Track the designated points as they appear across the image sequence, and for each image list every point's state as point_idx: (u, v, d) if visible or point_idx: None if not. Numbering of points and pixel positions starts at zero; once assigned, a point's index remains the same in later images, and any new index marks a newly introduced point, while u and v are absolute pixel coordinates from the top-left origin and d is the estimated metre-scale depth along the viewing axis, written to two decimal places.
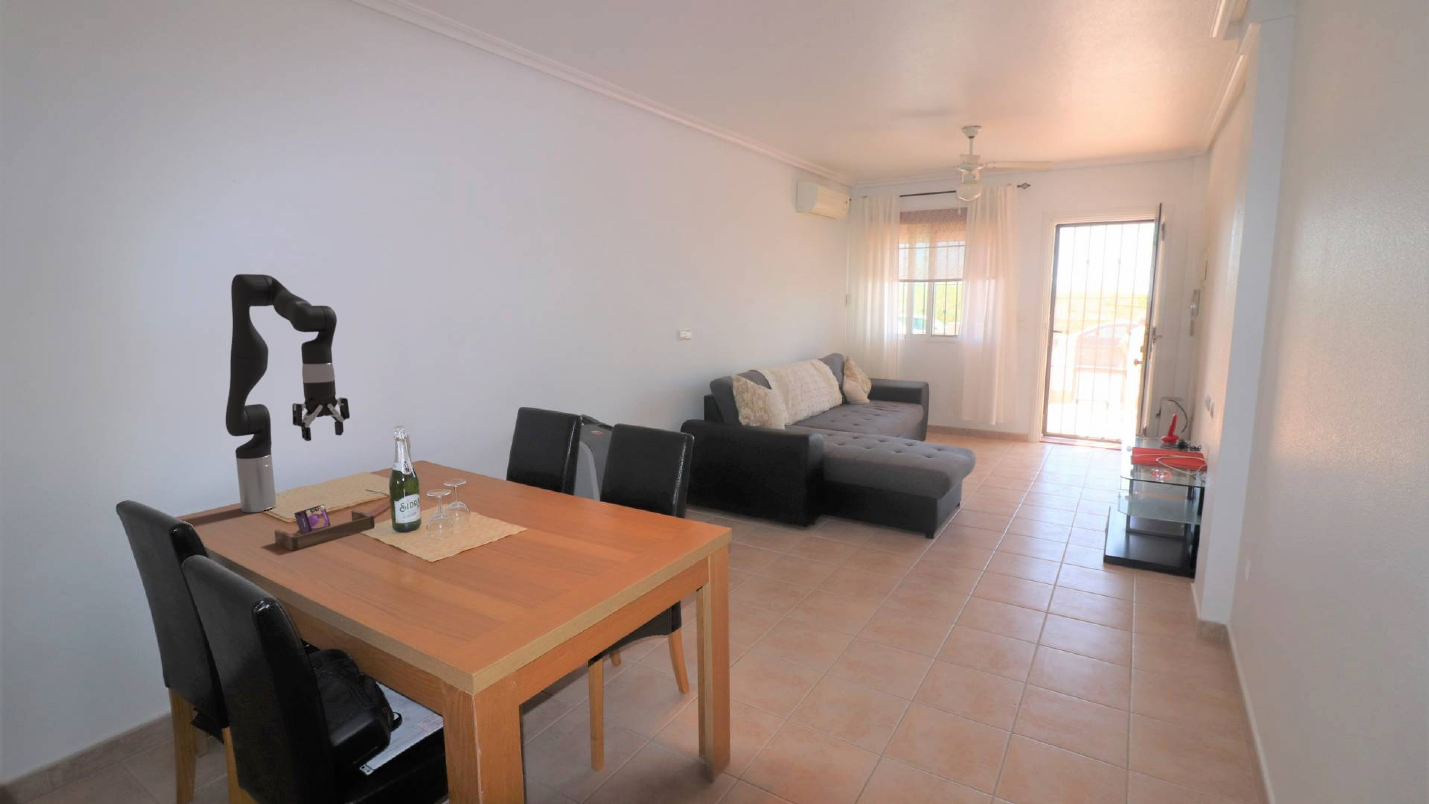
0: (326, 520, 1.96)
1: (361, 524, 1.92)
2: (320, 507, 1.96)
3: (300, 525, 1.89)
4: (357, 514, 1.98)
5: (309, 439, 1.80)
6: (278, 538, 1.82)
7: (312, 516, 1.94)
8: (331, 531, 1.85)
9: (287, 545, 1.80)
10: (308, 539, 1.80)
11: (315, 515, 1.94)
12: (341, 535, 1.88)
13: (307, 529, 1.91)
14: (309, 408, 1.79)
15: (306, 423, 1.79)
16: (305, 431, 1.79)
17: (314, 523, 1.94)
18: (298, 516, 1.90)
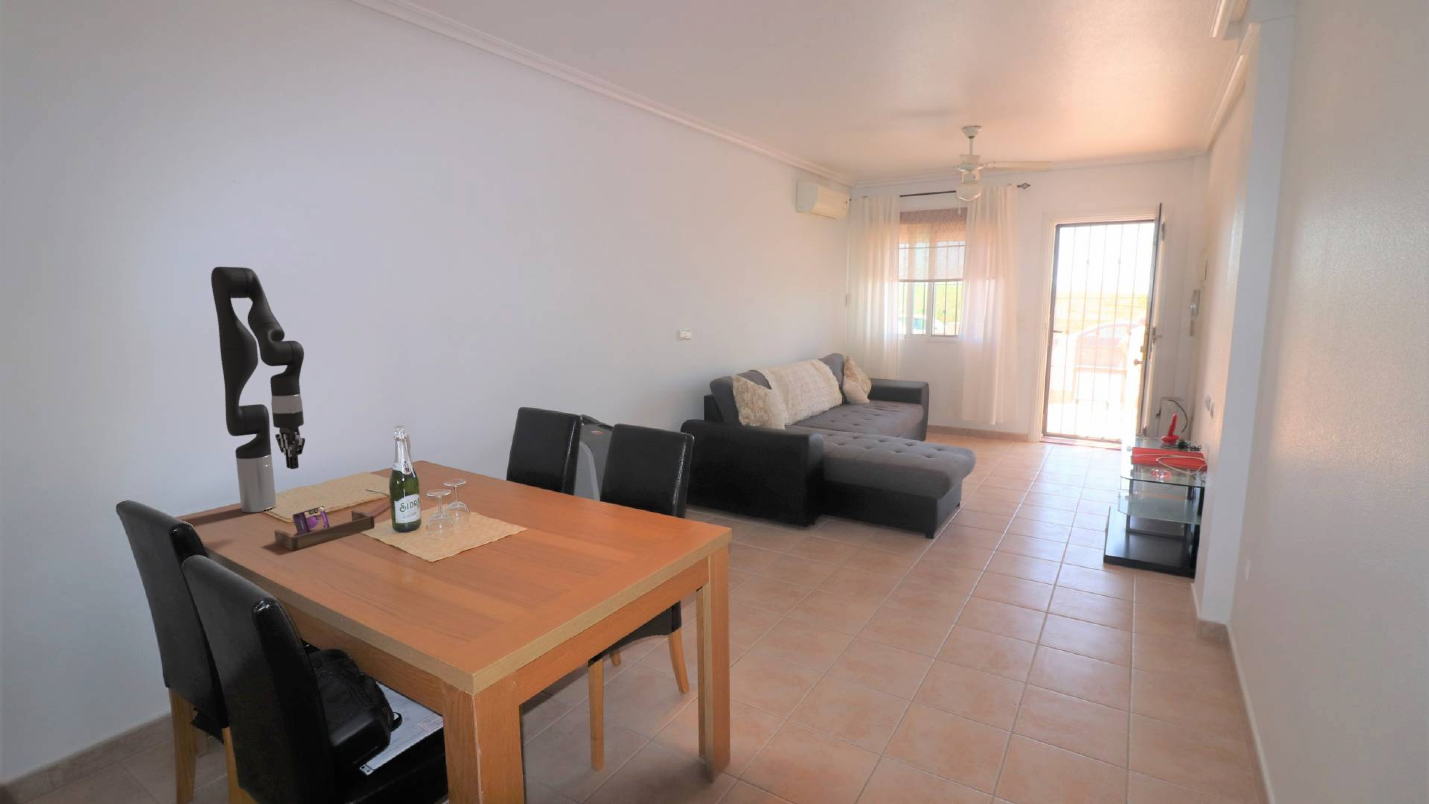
0: (325, 522, 1.94)
1: (361, 524, 1.92)
2: (319, 509, 1.94)
3: (298, 527, 1.88)
4: (357, 514, 1.98)
5: None
6: (278, 538, 1.82)
7: (311, 518, 1.92)
8: (331, 531, 1.85)
9: (287, 545, 1.80)
10: (308, 539, 1.80)
11: (314, 517, 1.93)
12: (341, 535, 1.88)
13: (306, 531, 1.90)
14: None
15: None
16: None
17: (313, 525, 1.92)
18: (296, 518, 1.88)
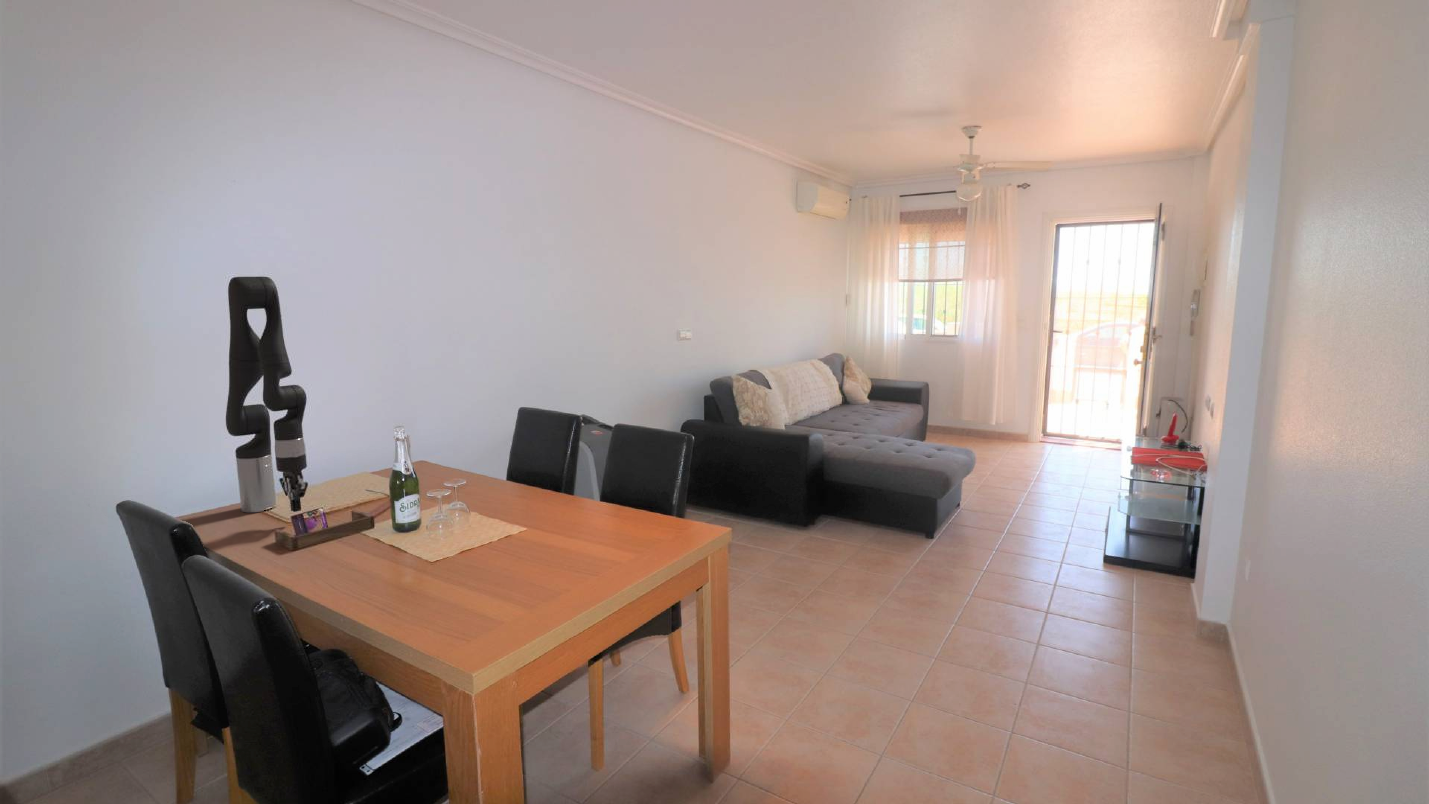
0: (324, 524, 1.93)
1: (361, 524, 1.92)
2: (318, 510, 1.93)
3: (296, 528, 1.87)
4: (357, 514, 1.98)
5: None
6: (278, 538, 1.82)
7: (310, 519, 1.91)
8: (331, 531, 1.85)
9: (287, 545, 1.80)
10: (308, 539, 1.80)
11: (313, 518, 1.91)
12: (341, 535, 1.88)
13: (304, 533, 1.88)
14: None
15: None
16: None
17: (311, 526, 1.91)
18: (294, 519, 1.87)
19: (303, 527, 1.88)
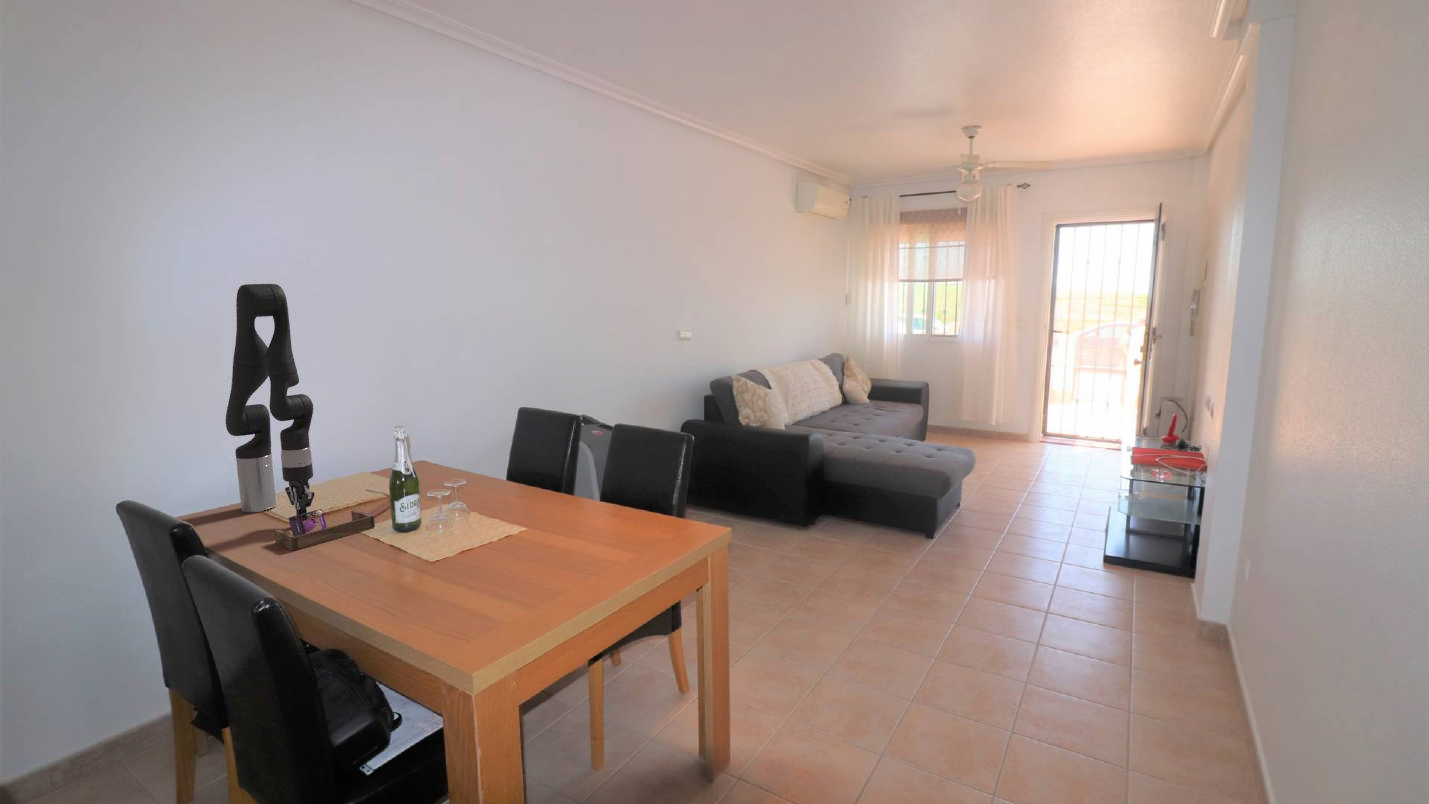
0: (323, 525, 1.92)
1: (361, 524, 1.92)
2: (317, 512, 1.91)
3: (294, 530, 1.85)
4: (357, 514, 1.98)
5: None
6: (278, 538, 1.82)
7: (308, 521, 1.89)
8: (331, 531, 1.85)
9: (287, 545, 1.80)
10: (308, 539, 1.80)
11: (311, 520, 1.90)
12: (341, 535, 1.88)
13: None
14: None
15: None
16: None
17: (310, 528, 1.89)
18: (292, 521, 1.86)
19: (301, 529, 1.87)
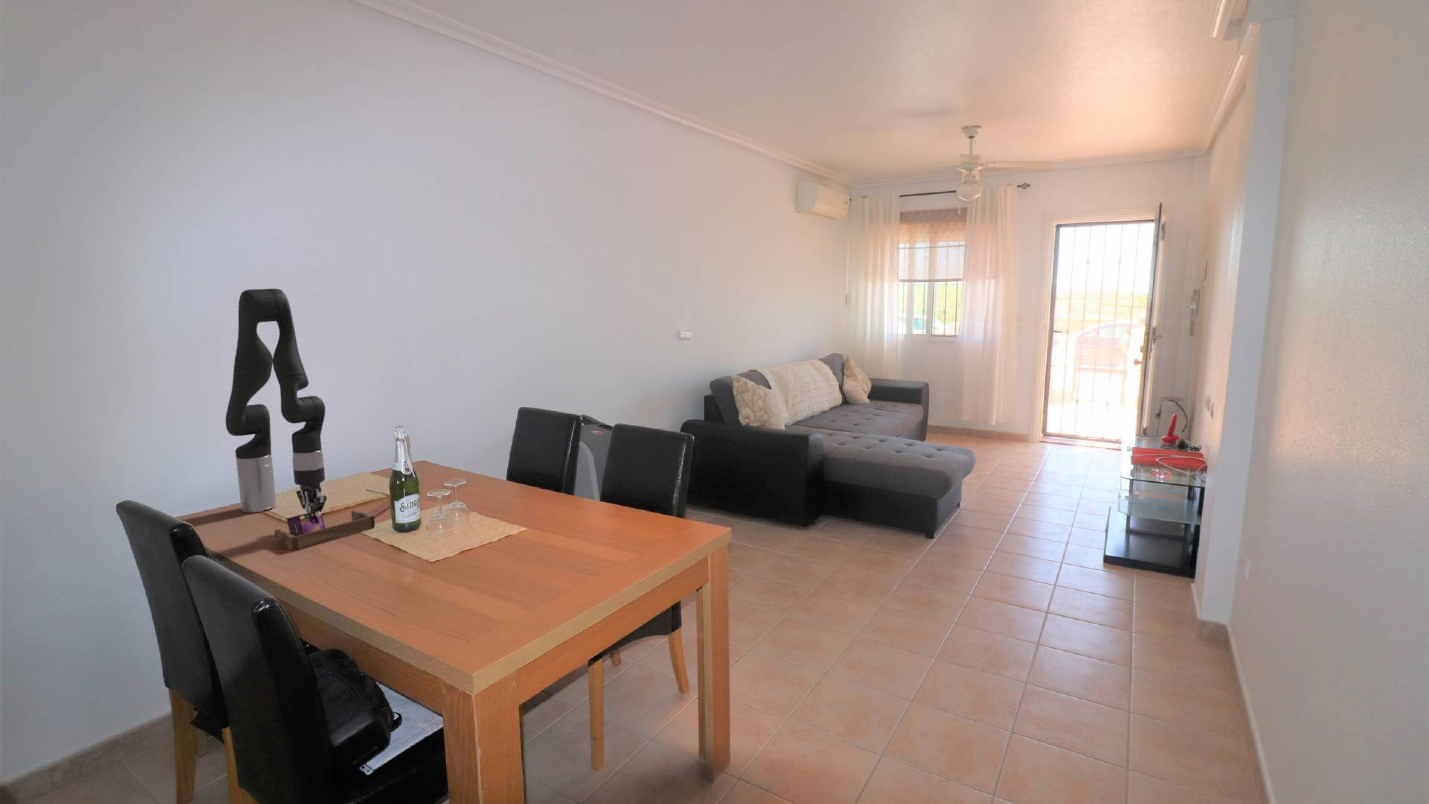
0: (321, 527, 1.90)
1: (361, 524, 1.92)
2: (316, 513, 1.90)
3: (292, 531, 1.84)
4: (357, 514, 1.98)
5: None
6: (278, 538, 1.82)
7: (307, 522, 1.88)
8: (331, 531, 1.85)
9: (287, 545, 1.80)
10: (308, 539, 1.80)
11: (310, 521, 1.89)
12: (341, 535, 1.88)
13: None
14: None
15: None
16: None
17: (308, 529, 1.88)
18: (290, 521, 1.85)
19: (299, 530, 1.86)
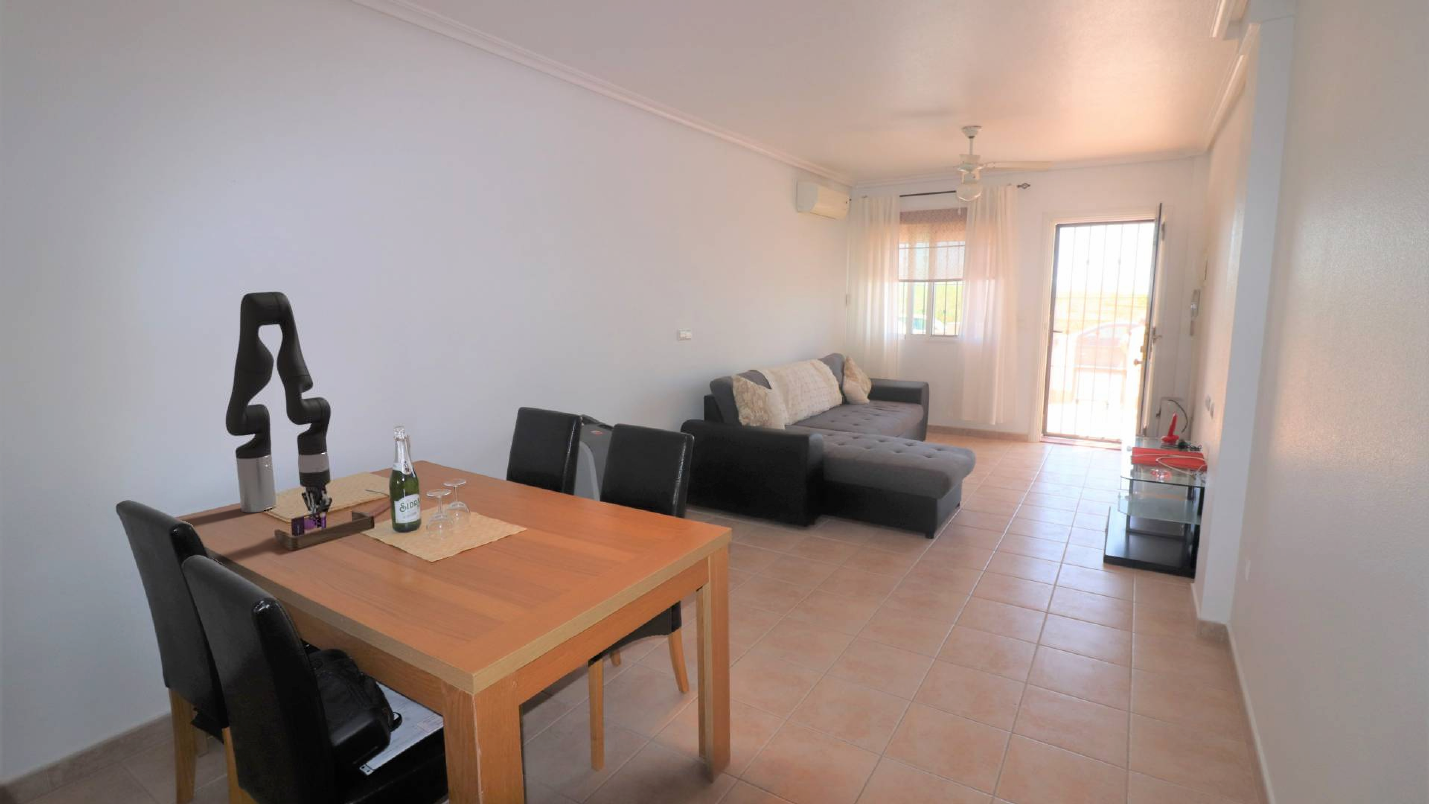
0: (323, 527, 1.90)
1: (361, 524, 1.92)
2: (321, 514, 1.88)
3: (293, 531, 1.83)
4: (357, 514, 1.98)
5: None
6: (278, 538, 1.82)
7: (310, 522, 1.87)
8: (331, 531, 1.85)
9: (287, 545, 1.80)
10: (308, 539, 1.80)
11: (313, 521, 1.87)
12: (341, 535, 1.88)
13: None
14: None
15: None
16: None
17: (310, 528, 1.88)
18: (294, 522, 1.83)
19: (301, 530, 1.85)
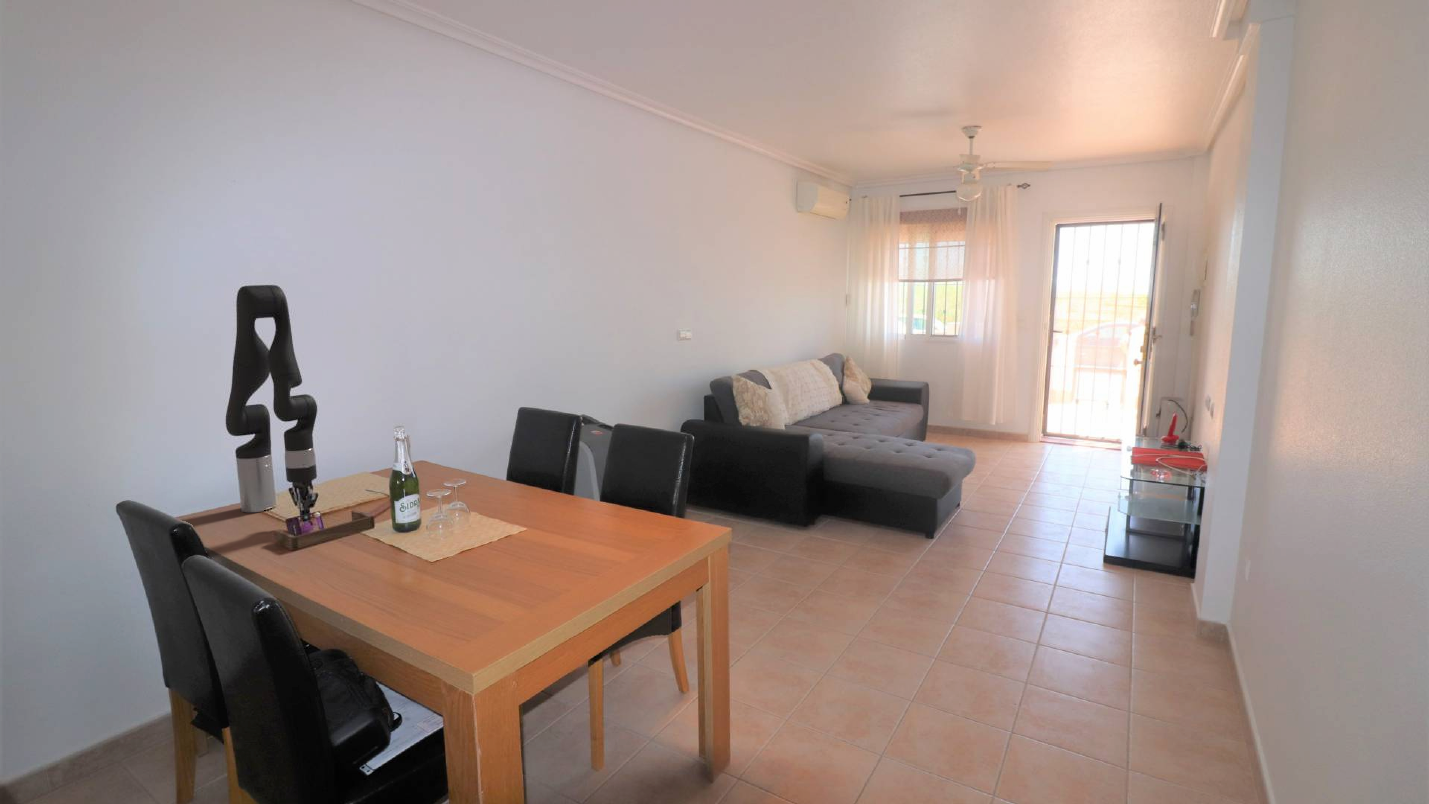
0: (320, 528, 1.90)
1: (361, 524, 1.92)
2: (315, 514, 1.89)
3: (290, 532, 1.84)
4: (357, 514, 1.98)
5: None
6: (278, 538, 1.82)
7: (305, 523, 1.88)
8: (331, 531, 1.85)
9: (287, 545, 1.80)
10: (308, 539, 1.80)
11: (309, 522, 1.88)
12: (341, 535, 1.88)
13: None
14: None
15: None
16: None
17: (307, 530, 1.88)
18: (289, 522, 1.84)
19: (298, 531, 1.85)
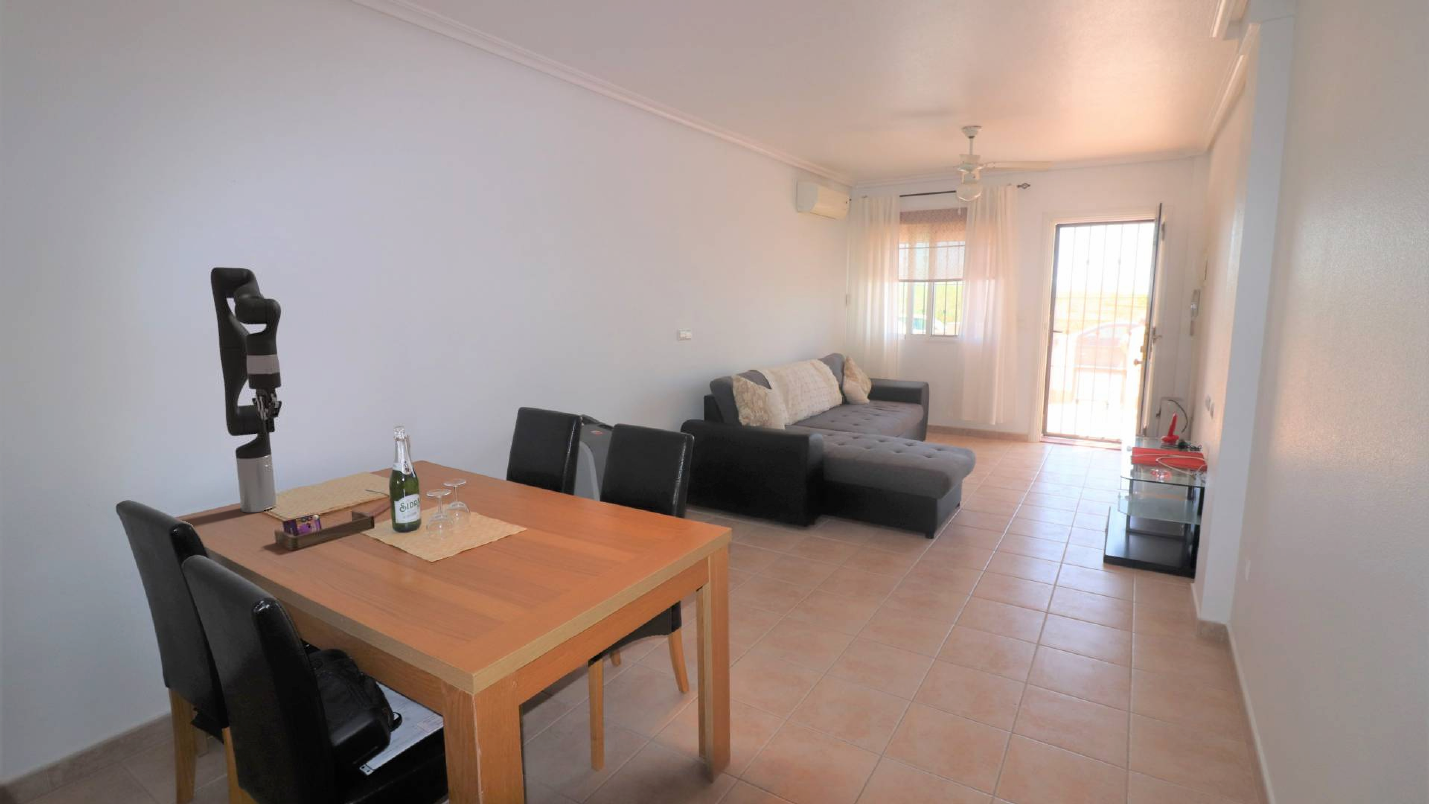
0: None
1: (361, 524, 1.92)
2: (313, 516, 1.87)
3: None
4: (357, 514, 1.98)
5: None
6: (278, 538, 1.82)
7: (303, 525, 1.86)
8: (331, 531, 1.85)
9: (287, 545, 1.80)
10: (308, 539, 1.80)
11: (307, 524, 1.86)
12: (341, 535, 1.88)
13: None
14: None
15: None
16: None
17: (305, 533, 1.86)
18: (286, 525, 1.82)
19: (295, 533, 1.83)
